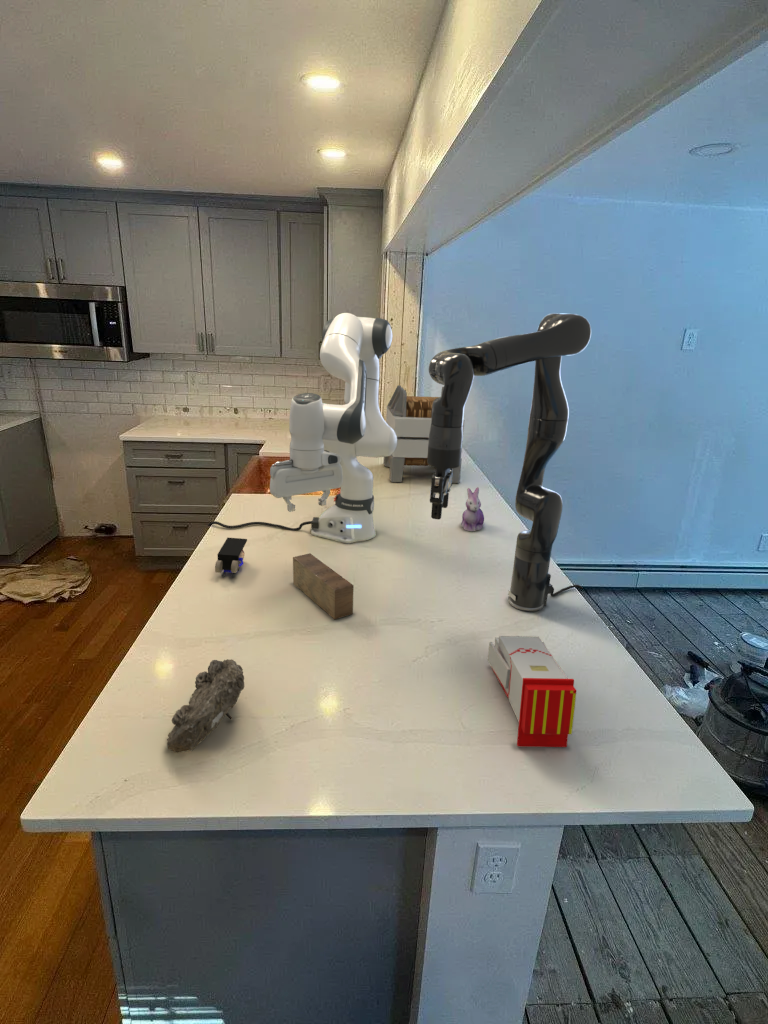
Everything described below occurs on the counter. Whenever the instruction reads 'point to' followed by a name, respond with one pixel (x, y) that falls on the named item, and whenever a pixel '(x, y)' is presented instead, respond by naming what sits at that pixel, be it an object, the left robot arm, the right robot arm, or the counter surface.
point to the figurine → (473, 512)
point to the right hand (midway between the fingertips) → (439, 512)
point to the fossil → (206, 705)
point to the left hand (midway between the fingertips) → (307, 508)
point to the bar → (323, 585)
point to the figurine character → (230, 556)
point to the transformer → (411, 433)
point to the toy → (534, 690)
